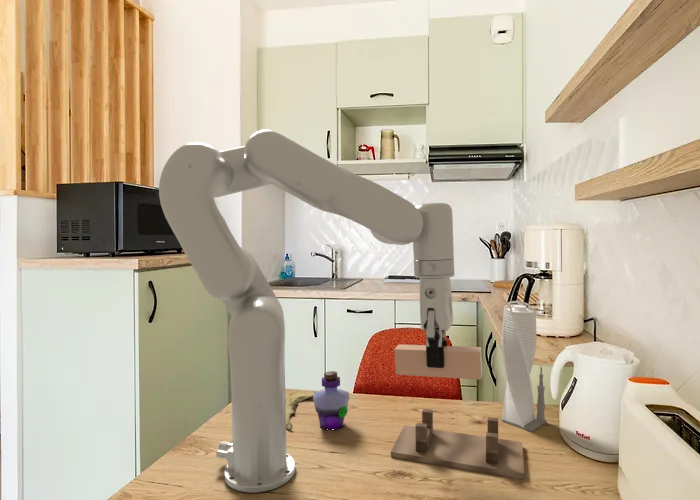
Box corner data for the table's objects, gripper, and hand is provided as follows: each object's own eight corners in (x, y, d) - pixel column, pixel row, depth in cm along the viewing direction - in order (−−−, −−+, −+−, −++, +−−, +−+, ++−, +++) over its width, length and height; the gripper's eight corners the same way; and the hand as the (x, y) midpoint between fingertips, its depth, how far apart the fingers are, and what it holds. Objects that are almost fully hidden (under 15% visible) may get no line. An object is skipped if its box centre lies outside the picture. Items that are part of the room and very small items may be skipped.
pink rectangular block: (395, 374, 85) (394, 349, 84) (400, 368, 88) (398, 344, 88) (481, 379, 79) (480, 352, 79) (482, 373, 82) (481, 347, 82)
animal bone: (291, 390, 117) (327, 386, 115) (293, 398, 117) (328, 395, 115) (261, 428, 96) (304, 425, 94) (263, 438, 97) (306, 435, 95)
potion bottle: (342, 436, 92) (341, 381, 92) (305, 430, 95) (304, 376, 95) (356, 420, 101) (355, 368, 100) (321, 414, 104) (321, 365, 103)
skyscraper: (528, 434, 93) (529, 303, 91) (494, 421, 99) (494, 299, 98) (546, 422, 98) (547, 299, 97) (512, 411, 104) (513, 295, 103)
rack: (390, 456, 84) (390, 426, 84) (404, 429, 95) (404, 402, 95) (524, 479, 76) (524, 445, 76) (522, 446, 87) (522, 417, 87)
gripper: (448, 273, 74) (452, 380, 74) (458, 264, 89) (461, 352, 90) (404, 273, 76) (408, 376, 77) (422, 264, 92) (425, 350, 93)
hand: (437, 362), depth 84 cm, fingers closed on pink rectangular block, 3 cm apart
